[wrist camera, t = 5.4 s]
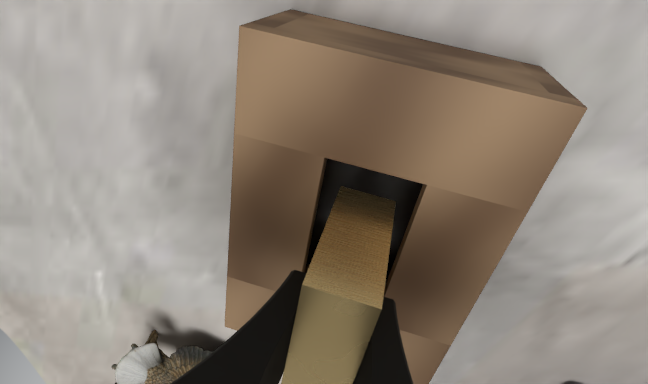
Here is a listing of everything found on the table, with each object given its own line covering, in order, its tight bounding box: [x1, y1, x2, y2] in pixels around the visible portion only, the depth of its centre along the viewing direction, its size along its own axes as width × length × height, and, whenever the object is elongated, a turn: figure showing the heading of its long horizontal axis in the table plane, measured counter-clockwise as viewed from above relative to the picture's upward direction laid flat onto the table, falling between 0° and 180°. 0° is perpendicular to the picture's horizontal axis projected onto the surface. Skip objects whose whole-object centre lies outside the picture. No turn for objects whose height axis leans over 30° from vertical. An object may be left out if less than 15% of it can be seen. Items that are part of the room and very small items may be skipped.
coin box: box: [225, 9, 587, 384], centre depth 17 cm, size 10×14×5 cm
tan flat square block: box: [281, 186, 396, 384], centre depth 13 cm, size 2×5×5 cm, turn 170°
